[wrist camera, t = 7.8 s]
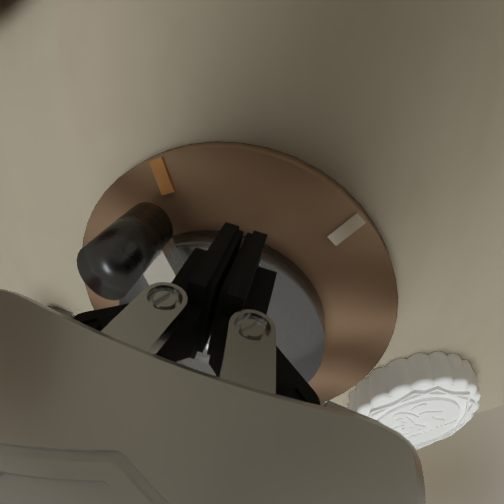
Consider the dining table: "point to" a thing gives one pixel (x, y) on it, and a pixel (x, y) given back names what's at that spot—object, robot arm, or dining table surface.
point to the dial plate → (277, 237)
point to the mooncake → (420, 396)
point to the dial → (171, 261)
